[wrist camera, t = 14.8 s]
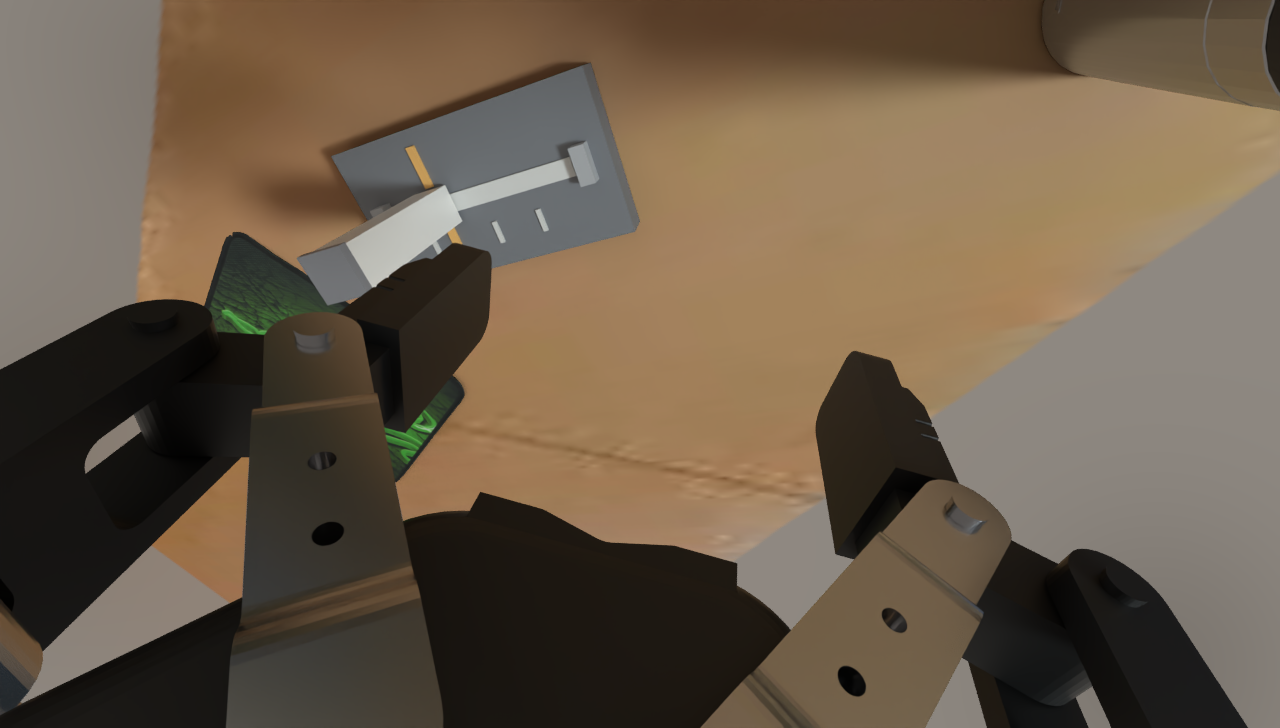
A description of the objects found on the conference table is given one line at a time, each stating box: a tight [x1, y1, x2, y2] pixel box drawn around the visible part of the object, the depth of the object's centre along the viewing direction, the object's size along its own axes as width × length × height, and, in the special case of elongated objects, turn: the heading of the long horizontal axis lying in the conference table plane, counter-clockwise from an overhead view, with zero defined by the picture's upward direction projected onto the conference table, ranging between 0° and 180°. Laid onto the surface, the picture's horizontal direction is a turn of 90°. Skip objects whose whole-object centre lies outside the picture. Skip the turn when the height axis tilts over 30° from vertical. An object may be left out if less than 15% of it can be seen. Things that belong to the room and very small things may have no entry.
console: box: [331, 63, 640, 268], centre depth 43 cm, size 22×12×4 cm, turn 107°
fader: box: [297, 185, 462, 305], centre depth 38 cm, size 3×3×14 cm
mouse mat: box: [204, 232, 464, 482], centre depth 59 cm, size 27×22×1 cm
